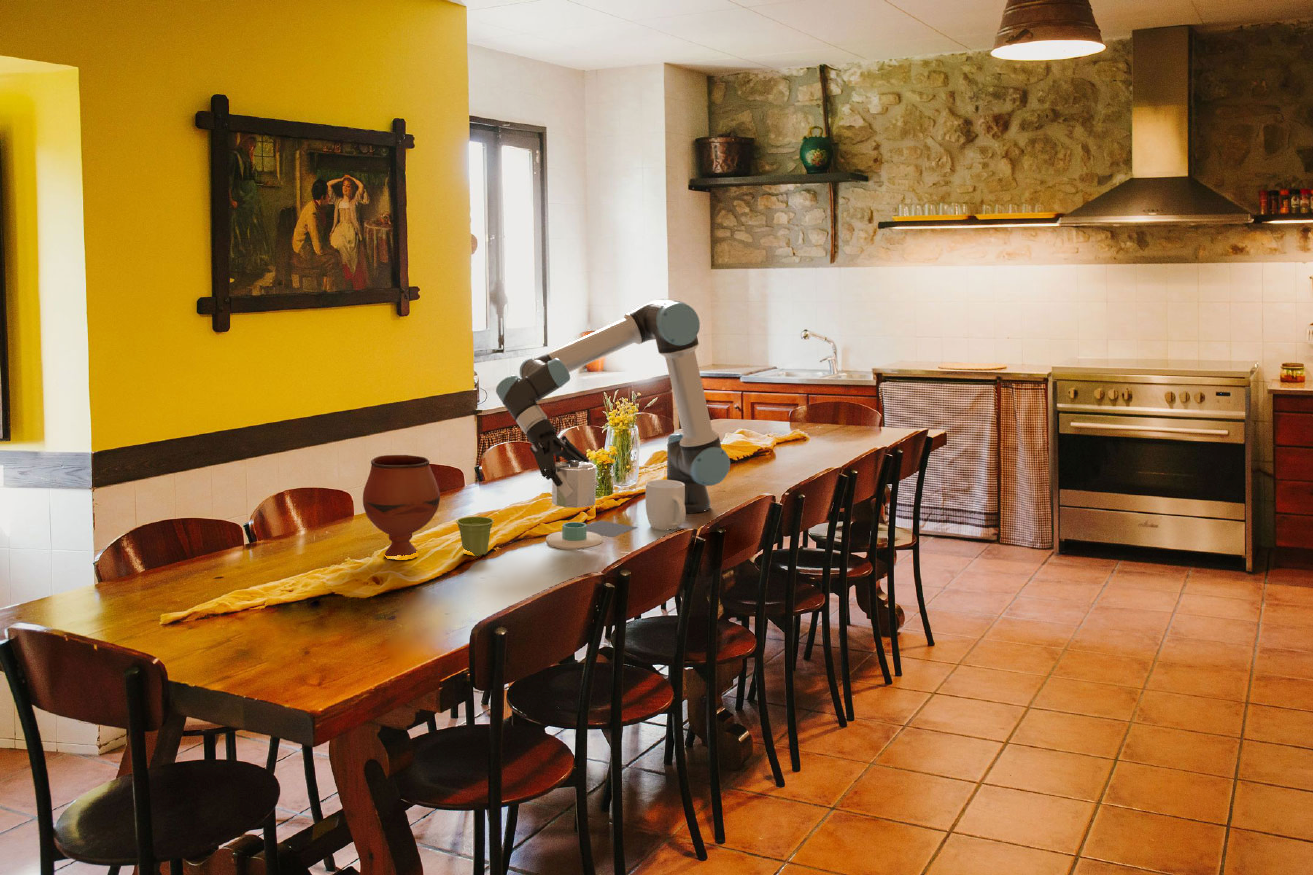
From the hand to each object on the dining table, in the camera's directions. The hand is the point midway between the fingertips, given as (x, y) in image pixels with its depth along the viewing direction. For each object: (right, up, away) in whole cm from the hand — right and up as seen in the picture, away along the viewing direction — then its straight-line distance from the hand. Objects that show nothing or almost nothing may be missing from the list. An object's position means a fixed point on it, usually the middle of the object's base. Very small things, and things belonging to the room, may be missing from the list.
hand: (582, 490), depth 305 cm
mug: (+22, -12, +19) cm, 32 cm away
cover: (-2, -3, +2) cm, 5 cm away
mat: (+5, -12, +17) cm, 21 cm away
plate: (-2, -14, +4) cm, 15 cm away
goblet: (-45, -16, -13) cm, 49 cm away
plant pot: (-27, -16, -9) cm, 32 cm away
